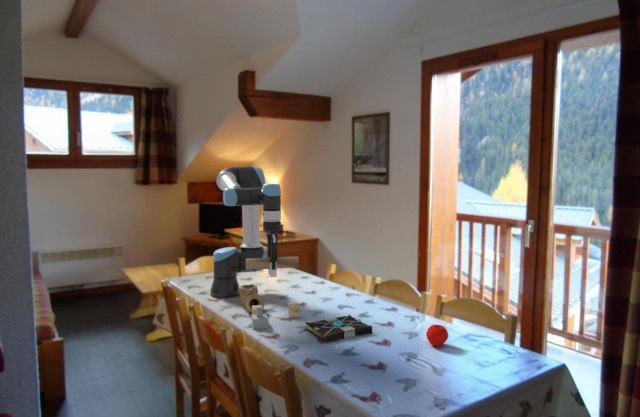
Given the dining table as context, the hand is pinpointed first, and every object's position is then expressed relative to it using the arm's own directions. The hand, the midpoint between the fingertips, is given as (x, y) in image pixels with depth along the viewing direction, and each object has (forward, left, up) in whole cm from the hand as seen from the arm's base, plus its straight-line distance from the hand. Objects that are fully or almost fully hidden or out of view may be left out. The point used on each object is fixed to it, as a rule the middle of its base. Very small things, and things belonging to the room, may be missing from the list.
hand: (272, 275), depth 202 cm
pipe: (-17, -8, -19) cm, 27 cm away
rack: (-2, +2, -19) cm, 19 cm away
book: (+21, +23, -20) cm, 37 cm away
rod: (0, 0, +3) cm, 3 cm away
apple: (+43, +55, -19) cm, 72 cm away
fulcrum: (+8, -6, -19) cm, 21 cm away
